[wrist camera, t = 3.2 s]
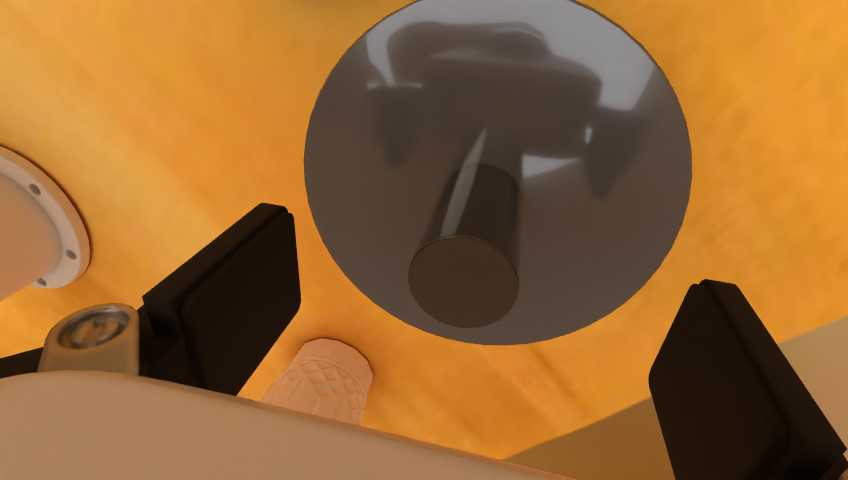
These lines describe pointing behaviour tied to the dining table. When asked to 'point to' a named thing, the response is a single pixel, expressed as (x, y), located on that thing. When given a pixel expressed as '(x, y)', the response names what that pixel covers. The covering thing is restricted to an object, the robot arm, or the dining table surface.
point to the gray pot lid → (498, 167)
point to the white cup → (324, 382)
